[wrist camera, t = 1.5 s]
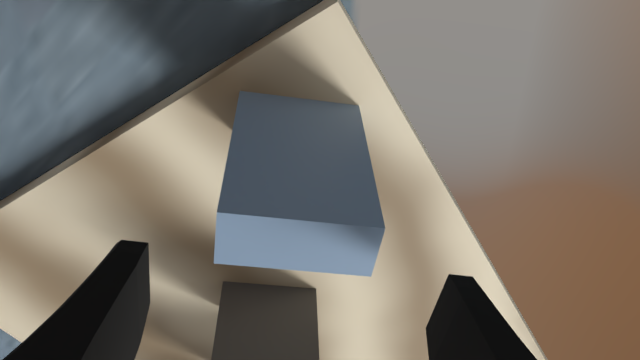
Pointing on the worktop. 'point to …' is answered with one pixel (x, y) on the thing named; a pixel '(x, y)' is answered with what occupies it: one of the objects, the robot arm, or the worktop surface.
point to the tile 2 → (266, 323)
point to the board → (202, 202)
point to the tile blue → (298, 188)
